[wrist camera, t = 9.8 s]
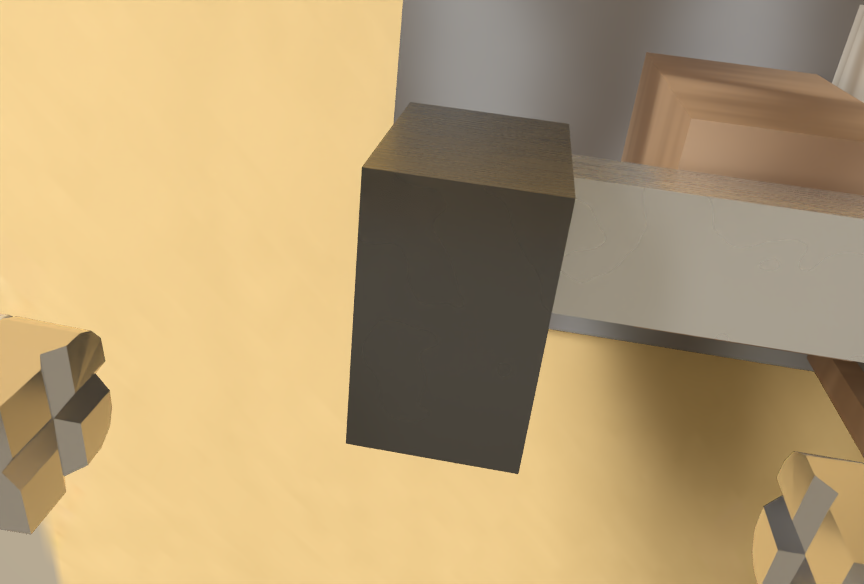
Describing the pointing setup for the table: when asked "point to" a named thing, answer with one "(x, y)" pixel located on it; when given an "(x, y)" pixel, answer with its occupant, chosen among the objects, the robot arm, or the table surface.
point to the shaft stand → (666, 105)
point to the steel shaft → (565, 272)
